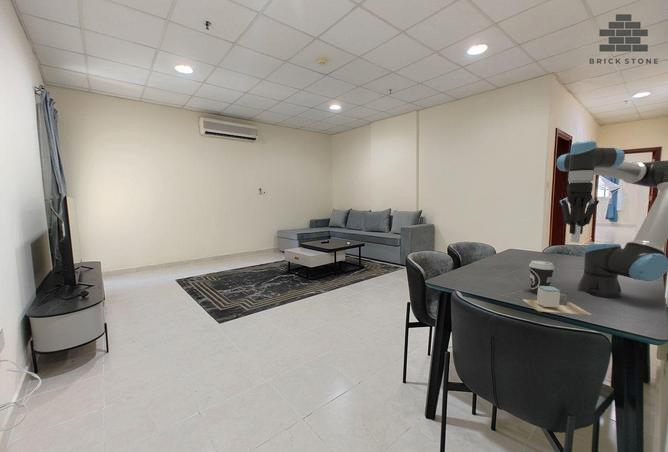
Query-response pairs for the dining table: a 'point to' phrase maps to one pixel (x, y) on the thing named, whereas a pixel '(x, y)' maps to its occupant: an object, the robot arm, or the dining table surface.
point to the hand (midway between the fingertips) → (575, 242)
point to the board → (557, 308)
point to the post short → (563, 299)
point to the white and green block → (548, 296)
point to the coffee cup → (540, 274)
